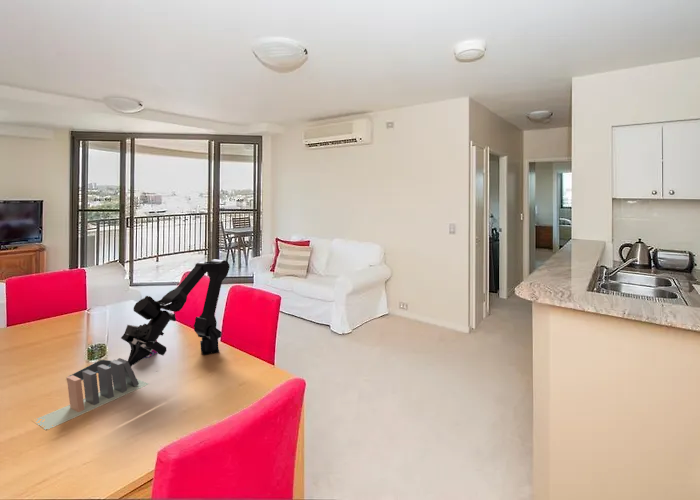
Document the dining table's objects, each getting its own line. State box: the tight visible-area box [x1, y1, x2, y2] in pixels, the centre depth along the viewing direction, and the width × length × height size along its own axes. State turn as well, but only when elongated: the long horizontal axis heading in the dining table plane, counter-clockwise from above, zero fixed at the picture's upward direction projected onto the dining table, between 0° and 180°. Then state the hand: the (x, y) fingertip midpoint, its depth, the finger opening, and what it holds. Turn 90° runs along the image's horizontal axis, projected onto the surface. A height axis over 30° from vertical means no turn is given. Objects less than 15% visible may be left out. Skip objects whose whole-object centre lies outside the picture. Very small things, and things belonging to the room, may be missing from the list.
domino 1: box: [66, 374, 84, 412], centre depth 114 cm, size 2×5×10 cm, turn 60°
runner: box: [36, 378, 150, 431], centre depth 119 cm, size 30×9×1 cm, turn 150°
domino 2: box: [82, 370, 99, 405], centre depth 118 cm, size 2×5×10 cm, turn 60°
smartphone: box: [67, 359, 111, 381], centre depth 140 cm, size 7×1×15 cm
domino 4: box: [109, 359, 127, 393], centre depth 125 cm, size 2×5×10 cm, turn 60°
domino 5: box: [116, 357, 139, 387], centre depth 127 cm, size 2×5×10 cm, turn 59°
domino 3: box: [97, 364, 114, 399], centre depth 121 cm, size 2×5×10 cm, turn 60°
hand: (127, 366), depth 127 cm, fingers closed
